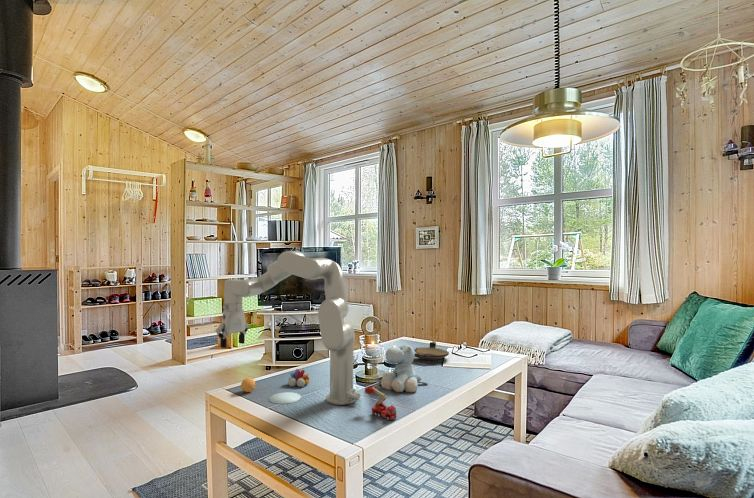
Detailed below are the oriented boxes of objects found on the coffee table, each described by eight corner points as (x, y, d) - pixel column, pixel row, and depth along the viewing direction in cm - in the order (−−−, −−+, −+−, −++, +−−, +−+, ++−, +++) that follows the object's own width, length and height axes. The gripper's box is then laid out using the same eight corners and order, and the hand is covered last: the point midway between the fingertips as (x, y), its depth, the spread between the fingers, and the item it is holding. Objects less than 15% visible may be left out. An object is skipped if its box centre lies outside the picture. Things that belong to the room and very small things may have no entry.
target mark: (307, 396, 175) (307, 395, 175) (285, 406, 164) (285, 405, 164) (284, 390, 182) (284, 390, 182) (262, 399, 171) (262, 399, 171)
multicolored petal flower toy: (305, 388, 186) (305, 372, 186) (285, 387, 188) (285, 371, 188) (312, 382, 194) (312, 367, 194) (292, 381, 196) (292, 366, 196)
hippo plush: (375, 383, 194) (375, 343, 194) (420, 378, 200) (420, 340, 200) (387, 396, 176) (387, 352, 176) (436, 391, 183) (436, 349, 183)
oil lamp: (400, 360, 233) (400, 347, 233) (428, 350, 256) (428, 338, 256) (435, 367, 219) (435, 353, 219) (461, 356, 243) (461, 343, 243)
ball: (258, 391, 182) (258, 377, 182) (247, 395, 177) (247, 381, 177) (248, 388, 185) (248, 375, 185) (237, 392, 180) (237, 378, 180)
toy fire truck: (392, 421, 150) (392, 395, 150) (364, 411, 159) (364, 386, 159) (397, 419, 152) (397, 392, 152) (370, 409, 162) (370, 384, 162)
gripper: (222, 310, 176) (221, 350, 176) (254, 305, 191) (253, 342, 191) (211, 308, 180) (210, 347, 180) (243, 304, 195) (242, 340, 195)
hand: (232, 345), depth 185 cm, fingers open, 9 cm apart
